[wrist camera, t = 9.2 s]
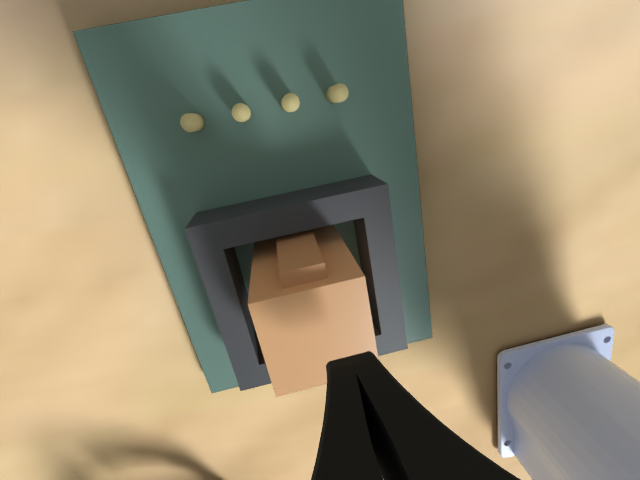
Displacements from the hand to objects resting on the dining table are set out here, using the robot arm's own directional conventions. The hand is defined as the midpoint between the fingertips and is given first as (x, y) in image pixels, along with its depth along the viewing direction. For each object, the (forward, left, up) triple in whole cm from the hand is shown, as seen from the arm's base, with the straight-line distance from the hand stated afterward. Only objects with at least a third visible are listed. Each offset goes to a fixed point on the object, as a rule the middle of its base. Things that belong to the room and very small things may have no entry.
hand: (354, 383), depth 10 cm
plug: (0, +1, -8) cm, 8 cm away
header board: (+3, +1, -9) cm, 10 cm away
